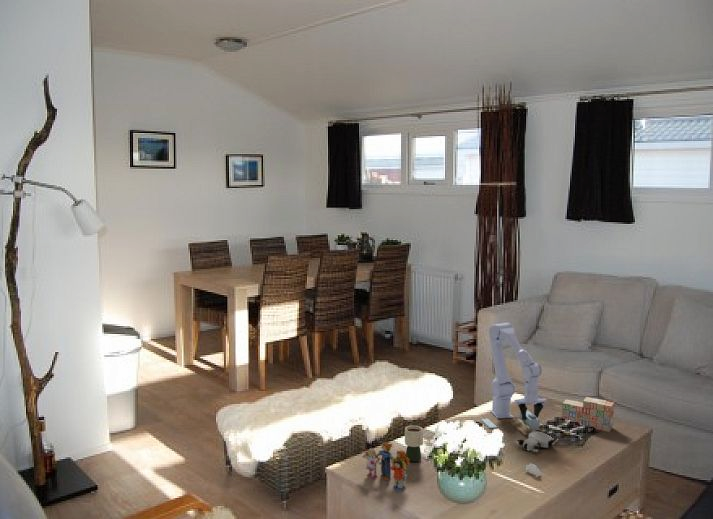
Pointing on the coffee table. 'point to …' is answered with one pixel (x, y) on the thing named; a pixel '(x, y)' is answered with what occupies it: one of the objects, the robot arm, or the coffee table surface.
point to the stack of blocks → (590, 412)
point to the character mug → (413, 442)
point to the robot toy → (536, 441)
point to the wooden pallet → (521, 426)
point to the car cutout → (533, 469)
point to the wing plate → (488, 423)
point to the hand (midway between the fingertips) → (529, 419)
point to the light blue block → (531, 420)
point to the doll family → (388, 465)
